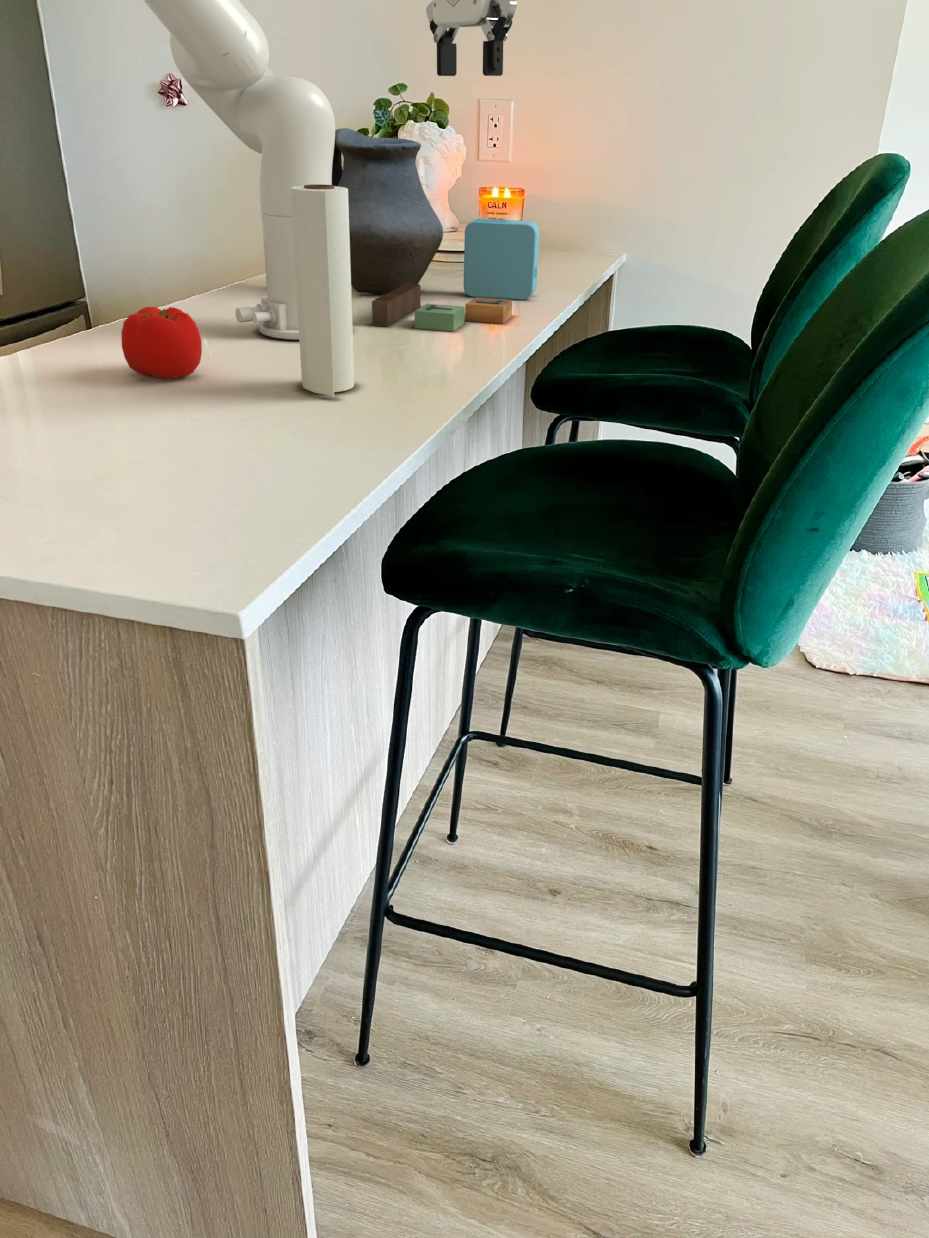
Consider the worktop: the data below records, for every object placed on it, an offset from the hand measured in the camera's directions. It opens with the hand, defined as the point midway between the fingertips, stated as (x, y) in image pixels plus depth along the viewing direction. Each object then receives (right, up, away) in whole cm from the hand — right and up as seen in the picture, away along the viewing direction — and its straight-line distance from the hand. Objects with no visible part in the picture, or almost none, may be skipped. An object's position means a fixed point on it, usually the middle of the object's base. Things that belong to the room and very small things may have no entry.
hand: (469, 76), depth 132 cm
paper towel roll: (-17, -49, -22) cm, 57 cm away
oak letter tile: (+3, -29, +15) cm, 33 cm away
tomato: (-36, -47, -19) cm, 62 cm away
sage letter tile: (-4, -32, +9) cm, 34 cm away
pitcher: (-16, -18, +34) cm, 42 cm away
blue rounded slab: (+5, -20, +31) cm, 38 cm away
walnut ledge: (-11, -29, +15) cm, 34 cm away
